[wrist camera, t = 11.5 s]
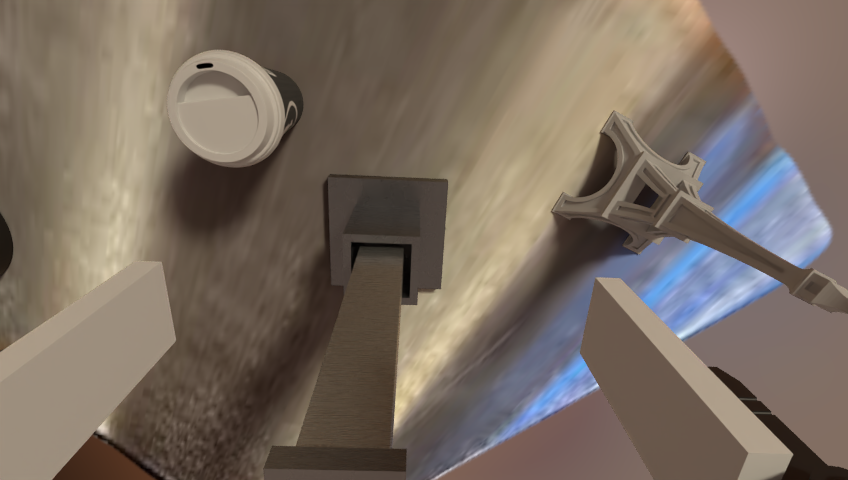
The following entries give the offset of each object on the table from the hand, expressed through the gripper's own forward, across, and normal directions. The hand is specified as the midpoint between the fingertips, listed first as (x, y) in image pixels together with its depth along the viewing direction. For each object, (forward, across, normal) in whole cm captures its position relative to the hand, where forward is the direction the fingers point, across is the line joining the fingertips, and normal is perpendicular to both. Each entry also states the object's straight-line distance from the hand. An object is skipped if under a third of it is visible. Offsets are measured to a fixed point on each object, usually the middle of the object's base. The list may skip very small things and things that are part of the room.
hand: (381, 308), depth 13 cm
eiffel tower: (+40, +27, -5) cm, 49 cm away
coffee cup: (+40, -15, +3) cm, 43 cm away
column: (+29, -2, -12) cm, 32 cm away
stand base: (+40, -2, -12) cm, 42 cm away
